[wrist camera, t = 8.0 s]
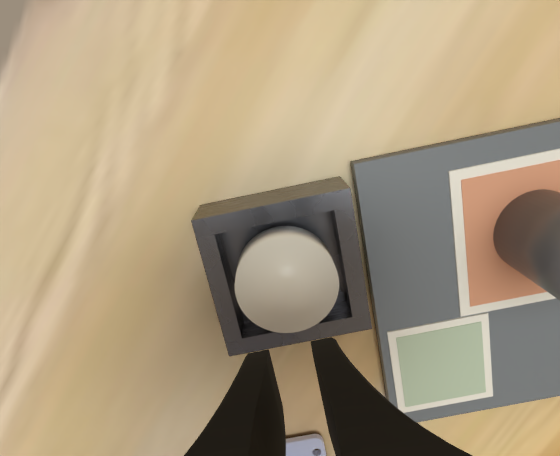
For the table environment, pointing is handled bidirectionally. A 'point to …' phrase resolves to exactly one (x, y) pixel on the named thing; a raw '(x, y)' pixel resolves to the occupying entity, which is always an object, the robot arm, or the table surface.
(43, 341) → the table surface
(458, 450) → the robot arm
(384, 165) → the picture board
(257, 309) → the button
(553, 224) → the grey canister
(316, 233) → the button housing
